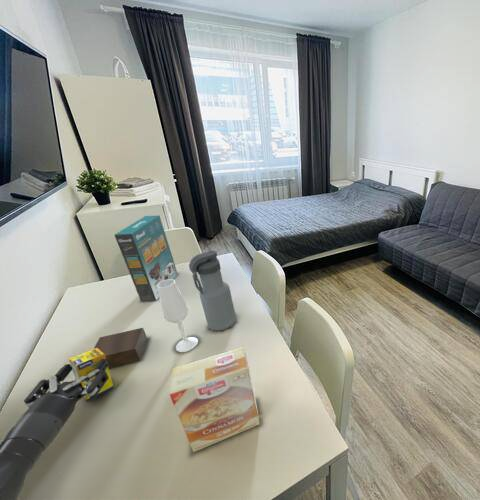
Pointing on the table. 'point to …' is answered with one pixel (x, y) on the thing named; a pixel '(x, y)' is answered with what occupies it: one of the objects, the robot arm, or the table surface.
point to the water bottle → (213, 291)
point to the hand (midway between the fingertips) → (87, 363)
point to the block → (123, 347)
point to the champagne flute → (175, 311)
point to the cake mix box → (147, 255)
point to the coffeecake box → (214, 398)
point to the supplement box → (90, 369)
